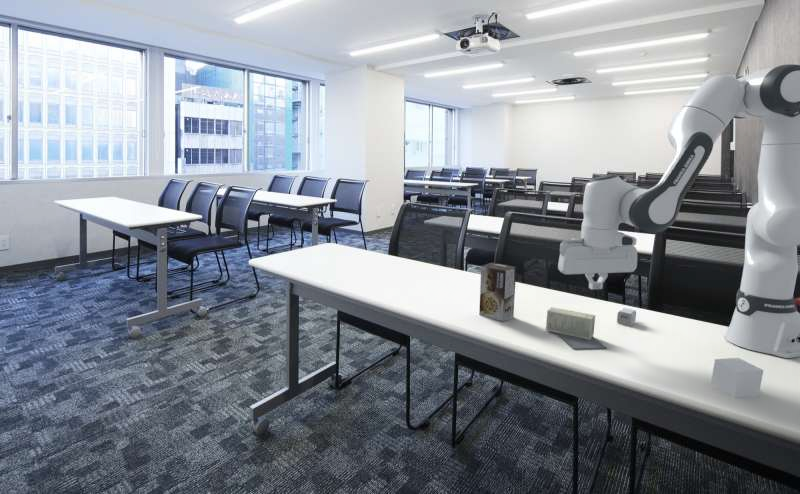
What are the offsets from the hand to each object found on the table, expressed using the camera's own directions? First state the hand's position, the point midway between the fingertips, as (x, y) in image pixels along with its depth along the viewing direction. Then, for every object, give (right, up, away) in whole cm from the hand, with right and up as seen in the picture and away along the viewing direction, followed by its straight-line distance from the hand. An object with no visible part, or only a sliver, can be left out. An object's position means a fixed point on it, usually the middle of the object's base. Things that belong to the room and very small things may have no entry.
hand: (595, 288), depth 122 cm
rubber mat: (-3, -14, +3) cm, 15 cm away
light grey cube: (+20, -20, -23) cm, 37 cm away
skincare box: (+1, -11, +3) cm, 11 cm away
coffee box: (-22, -11, +21) cm, 32 cm away
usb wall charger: (+17, -12, +17) cm, 27 cm away
